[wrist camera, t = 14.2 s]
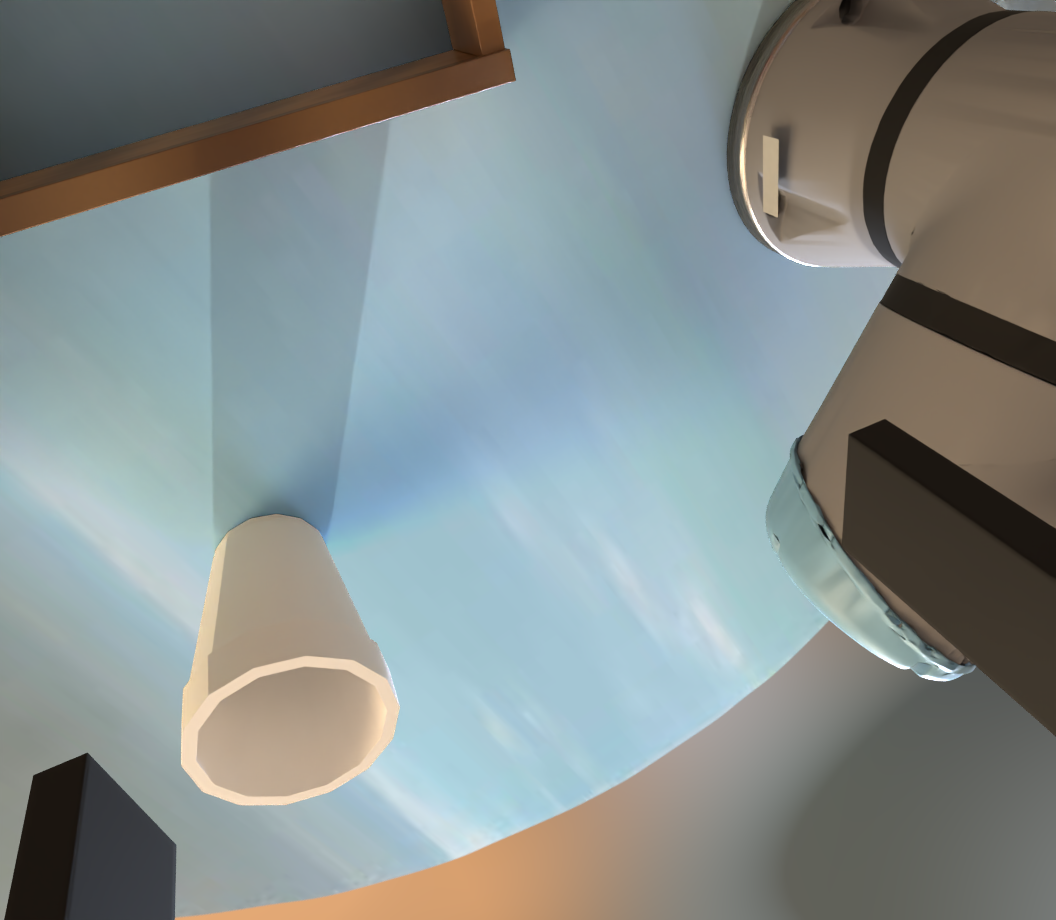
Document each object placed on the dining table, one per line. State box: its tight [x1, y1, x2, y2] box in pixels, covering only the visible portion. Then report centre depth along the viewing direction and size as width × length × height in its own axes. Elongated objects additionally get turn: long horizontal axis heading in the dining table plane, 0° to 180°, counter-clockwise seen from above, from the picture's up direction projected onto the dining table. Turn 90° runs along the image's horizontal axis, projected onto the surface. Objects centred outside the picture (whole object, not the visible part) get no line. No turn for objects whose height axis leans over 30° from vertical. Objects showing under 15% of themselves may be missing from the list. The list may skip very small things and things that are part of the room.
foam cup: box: [181, 514, 400, 805], centre depth 39 cm, size 10×9×13 cm
